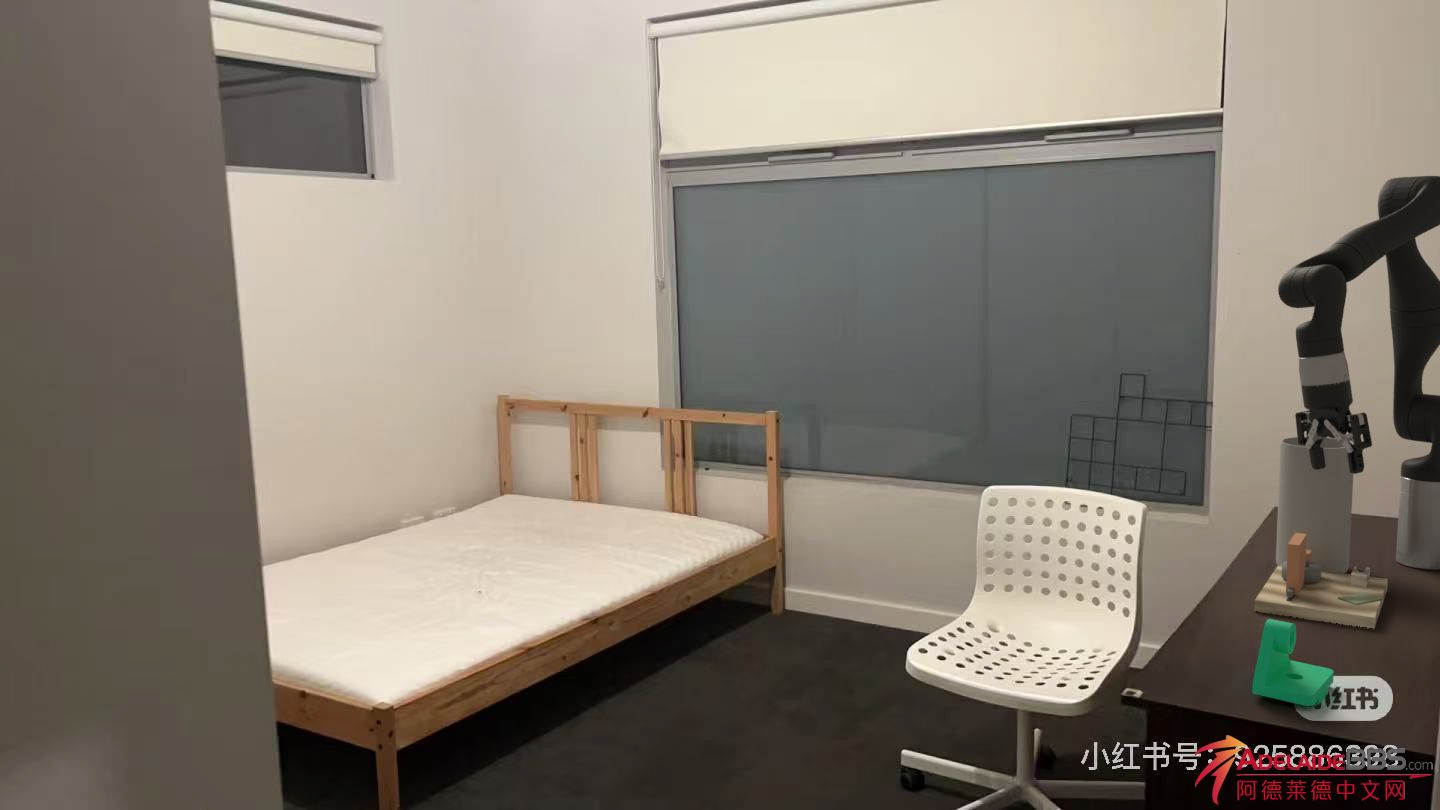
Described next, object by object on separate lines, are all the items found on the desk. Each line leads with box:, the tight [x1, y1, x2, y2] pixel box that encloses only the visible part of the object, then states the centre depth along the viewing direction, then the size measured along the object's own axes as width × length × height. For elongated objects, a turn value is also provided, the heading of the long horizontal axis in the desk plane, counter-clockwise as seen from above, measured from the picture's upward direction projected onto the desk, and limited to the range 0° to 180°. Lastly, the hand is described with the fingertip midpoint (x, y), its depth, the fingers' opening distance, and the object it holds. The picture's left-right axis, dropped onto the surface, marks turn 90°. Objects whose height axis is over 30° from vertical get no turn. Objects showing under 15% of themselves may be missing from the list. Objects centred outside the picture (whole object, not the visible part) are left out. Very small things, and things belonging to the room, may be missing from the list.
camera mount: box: [1252, 618, 1335, 707], centre depth 155 cm, size 12×8×10 cm, turn 137°
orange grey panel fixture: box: [1281, 533, 1322, 598], centre depth 195 cm, size 19×6×9 cm, turn 144°
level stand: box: [1253, 561, 1389, 630], centre depth 193 cm, size 24×18×6 cm
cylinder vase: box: [1275, 436, 1354, 574], centre depth 210 cm, size 12×12×25 cm
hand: (1337, 470), depth 191 cm, fingers open, 8 cm apart
